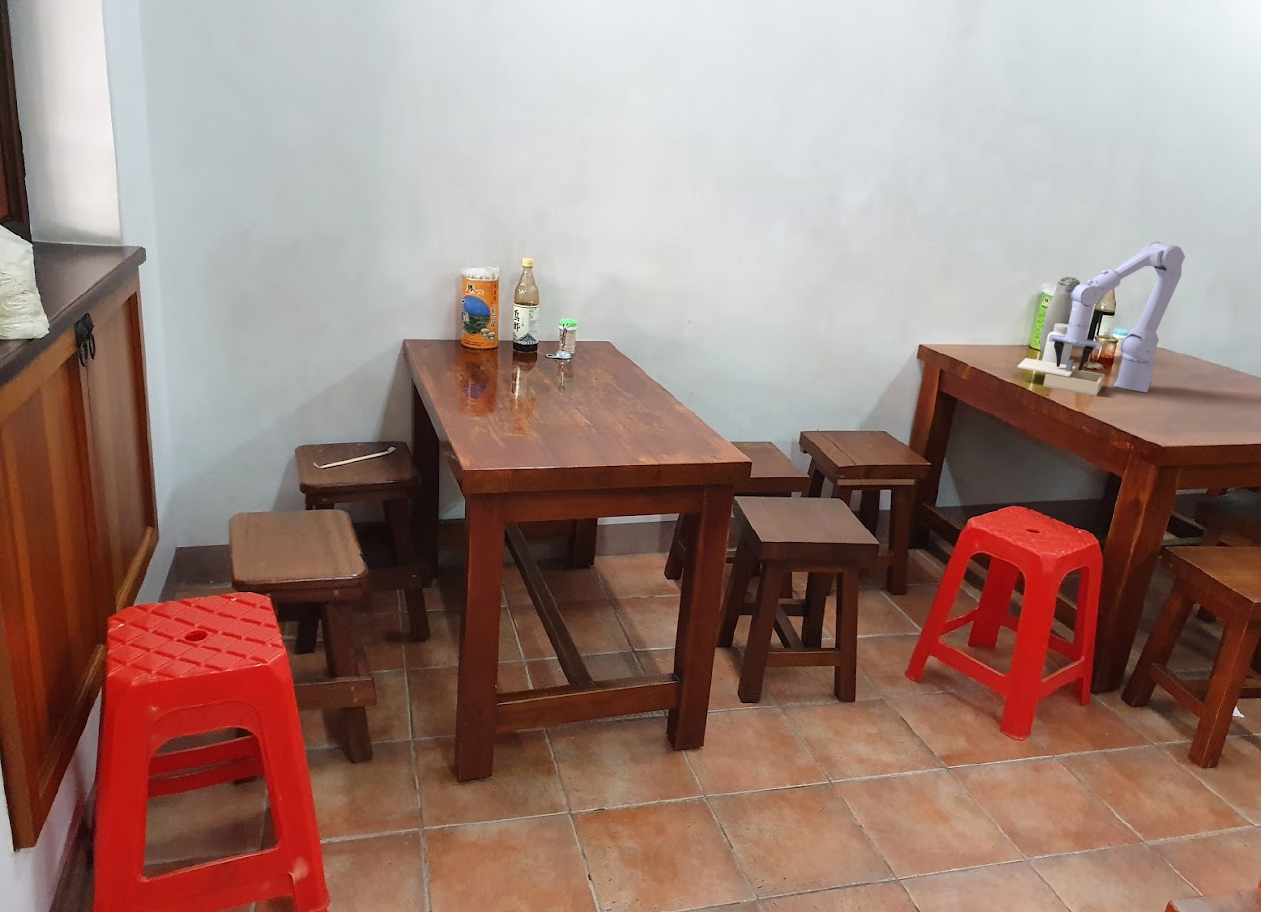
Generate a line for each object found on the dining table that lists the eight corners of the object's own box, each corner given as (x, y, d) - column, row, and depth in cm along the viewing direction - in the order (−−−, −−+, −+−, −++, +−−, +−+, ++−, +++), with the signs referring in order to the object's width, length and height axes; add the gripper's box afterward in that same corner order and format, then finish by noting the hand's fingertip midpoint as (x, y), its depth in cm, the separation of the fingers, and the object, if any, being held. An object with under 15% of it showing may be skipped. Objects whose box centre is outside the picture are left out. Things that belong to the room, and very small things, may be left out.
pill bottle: (1063, 374, 308) (1073, 328, 303) (1037, 369, 312) (1047, 324, 307) (1069, 370, 314) (1079, 325, 309) (1044, 365, 318) (1053, 321, 313)
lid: (1075, 368, 298) (1078, 356, 297) (1069, 376, 287) (1071, 364, 286) (1025, 359, 305) (1027, 348, 304) (1017, 367, 294) (1019, 355, 293)
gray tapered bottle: (1030, 355, 332) (1047, 274, 322) (1054, 354, 335) (1072, 274, 326) (1050, 362, 323) (1068, 279, 314) (1074, 362, 326) (1093, 280, 317)
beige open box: (1101, 386, 296) (1104, 374, 294) (1096, 396, 284) (1099, 383, 283) (1050, 377, 303) (1053, 365, 301) (1043, 386, 291) (1045, 373, 290)
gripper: (1051, 322, 288) (1041, 366, 293) (1103, 330, 281) (1092, 375, 286) (1054, 319, 294) (1045, 362, 299) (1106, 326, 287) (1095, 370, 292)
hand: (1068, 368), depth 293 cm, fingers open, 6 cm apart
